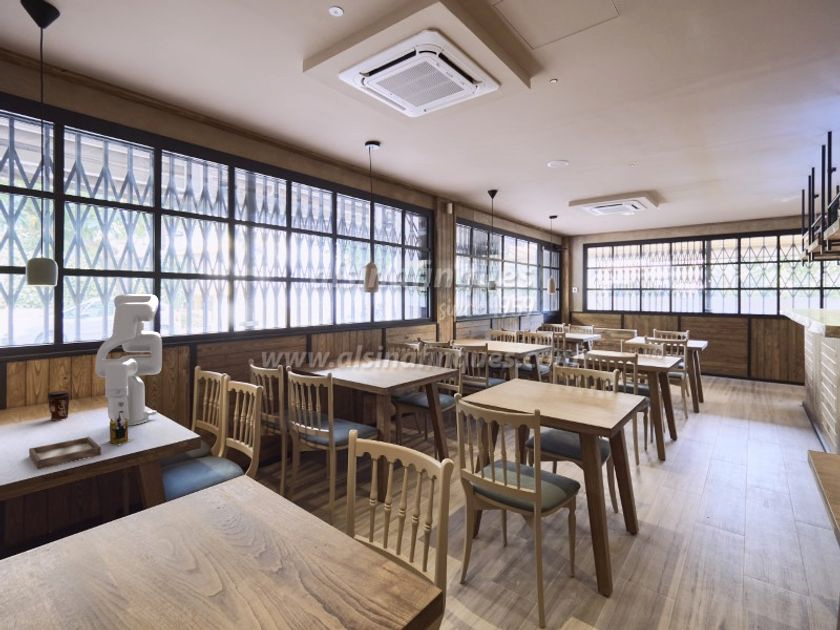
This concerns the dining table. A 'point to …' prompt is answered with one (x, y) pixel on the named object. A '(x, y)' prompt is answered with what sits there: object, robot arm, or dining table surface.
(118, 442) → the condiment
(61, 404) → the coffee cup
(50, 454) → the tray
